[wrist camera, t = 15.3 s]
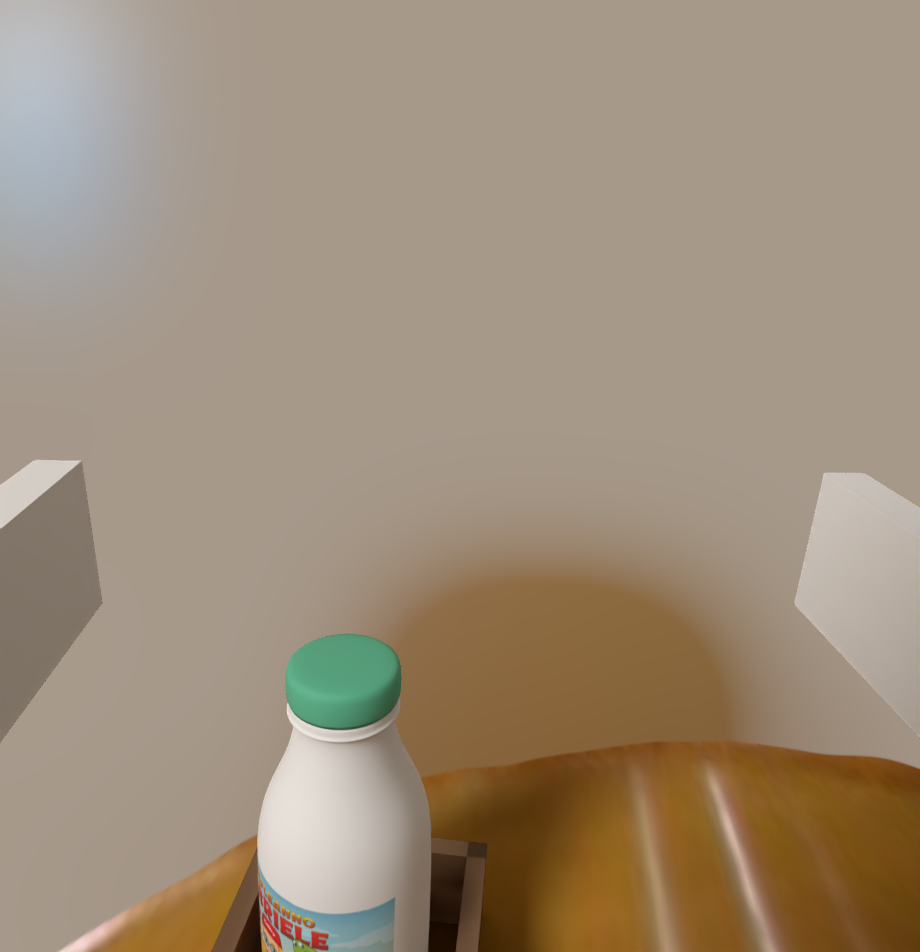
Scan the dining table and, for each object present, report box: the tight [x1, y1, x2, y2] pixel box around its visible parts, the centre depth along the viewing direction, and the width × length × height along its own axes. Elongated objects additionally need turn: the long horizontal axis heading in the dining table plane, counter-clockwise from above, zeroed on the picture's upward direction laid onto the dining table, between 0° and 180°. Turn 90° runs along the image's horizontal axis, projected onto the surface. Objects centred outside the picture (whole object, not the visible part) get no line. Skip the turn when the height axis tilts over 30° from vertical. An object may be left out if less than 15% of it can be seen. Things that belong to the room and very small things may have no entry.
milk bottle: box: [257, 634, 431, 952], centre depth 34 cm, size 8×8×20 cm
